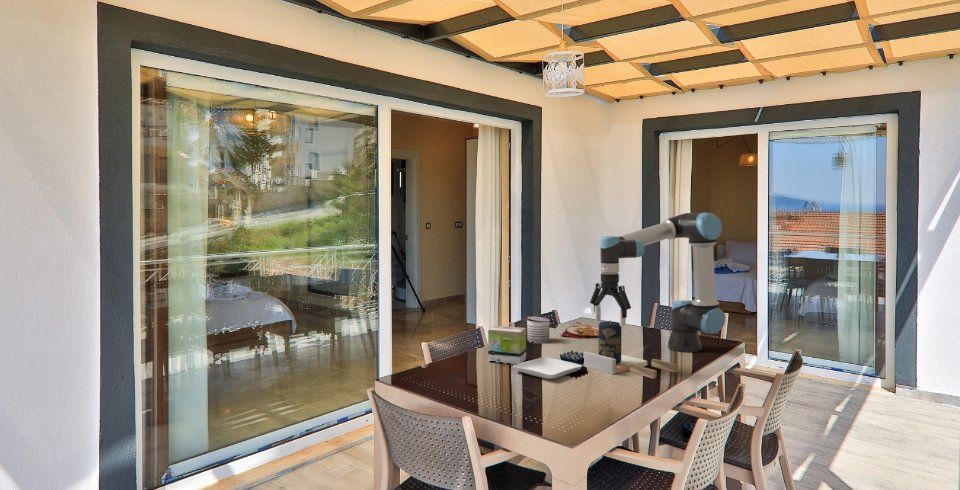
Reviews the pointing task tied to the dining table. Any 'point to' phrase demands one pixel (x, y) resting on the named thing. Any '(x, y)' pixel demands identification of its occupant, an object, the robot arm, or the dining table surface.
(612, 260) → the robot arm
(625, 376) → the dining table surface
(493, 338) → the tea box
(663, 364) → the rails
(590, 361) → the board
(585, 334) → the plate with food
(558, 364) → the salad plate
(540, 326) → the can
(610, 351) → the canister
